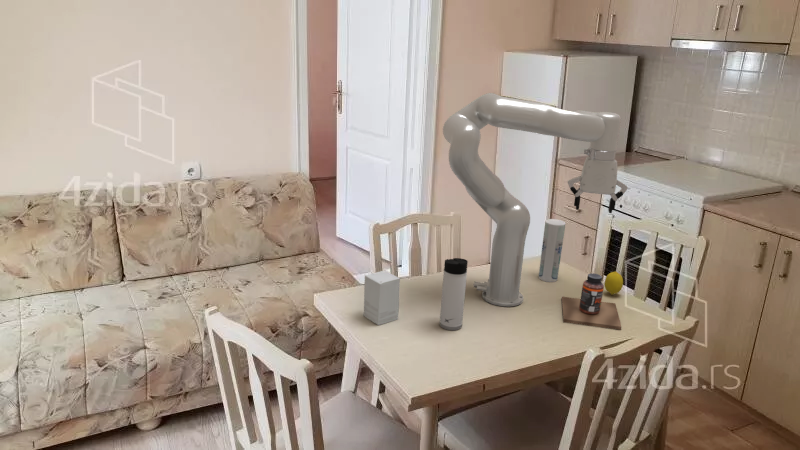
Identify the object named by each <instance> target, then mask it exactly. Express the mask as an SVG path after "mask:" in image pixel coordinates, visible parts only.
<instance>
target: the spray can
mask: <svg viewBox="0 0 800 450" xmlns="http://www.w3.org/2000/svg"><path fill="white" fill-rule="evenodd" d="M566 225H567V223H566V222H565V221H564V220H561V219H556V218H549V219H546V220H545V222H544V231H543V238H542V245H541V253H540V254H541V255H540V263H539V271H538V279H539V280H541V281H543V282H546V283H555V282H557V281H558V278H559V271H560V264H561V259H562V253H563V252H562V251H563V243H564V239H565V238H564V236H565V230H566Z"/></svg>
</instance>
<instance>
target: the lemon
mask: <svg viewBox="0 0 800 450" xmlns="http://www.w3.org/2000/svg"><path fill="white" fill-rule="evenodd" d="M623 285H624V279H623V276H622V274H620V273H619V272H617V271H611V272H610V273H608V274H607V275H606V277H605V280H604V288H605V290H606V291H607V292H608V293H609V294H610V295H611V296H613V295H615V294H618V293H620V292H621V290H622V289H623Z"/></svg>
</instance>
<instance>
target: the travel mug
mask: <svg viewBox="0 0 800 450" xmlns="http://www.w3.org/2000/svg"><path fill="white" fill-rule="evenodd" d="M468 263H469V261H468V259H465V258H460V257H454V258H447V259H445V260H444V265H443V266H444V268H443V275H442V276H443V277H442V287H441V288H442V290H441V300H440V301H441V302H440V312H439V313H440V314H439V315H440V316H439V317H440V318H439V326H440V328H442V329H444V330H446V331H457V330H460V329H462V327H463V319H464V307H465V296H466V285H467V276H468V275H467V273H468Z"/></svg>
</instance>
